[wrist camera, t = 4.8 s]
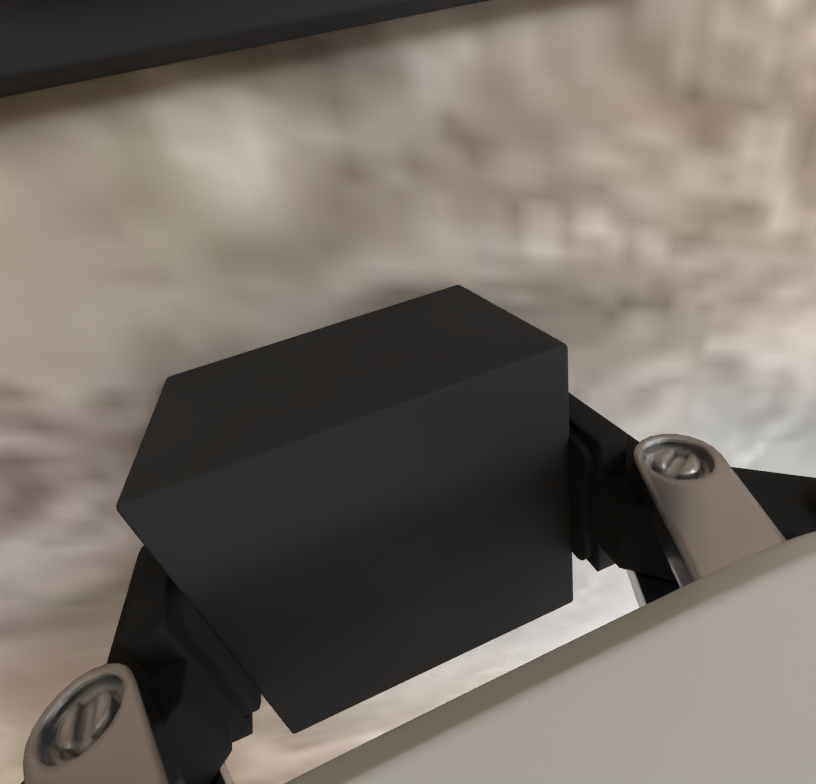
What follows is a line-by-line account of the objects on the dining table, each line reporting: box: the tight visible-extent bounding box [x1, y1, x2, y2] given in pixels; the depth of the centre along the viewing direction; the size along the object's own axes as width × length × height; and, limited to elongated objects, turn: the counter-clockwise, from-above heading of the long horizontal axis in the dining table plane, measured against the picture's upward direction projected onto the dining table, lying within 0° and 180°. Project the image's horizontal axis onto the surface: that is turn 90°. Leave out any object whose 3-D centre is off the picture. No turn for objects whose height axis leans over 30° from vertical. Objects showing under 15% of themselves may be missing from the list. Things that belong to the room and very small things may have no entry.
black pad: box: [116, 285, 573, 733], centre depth 9 cm, size 6×6×4 cm
